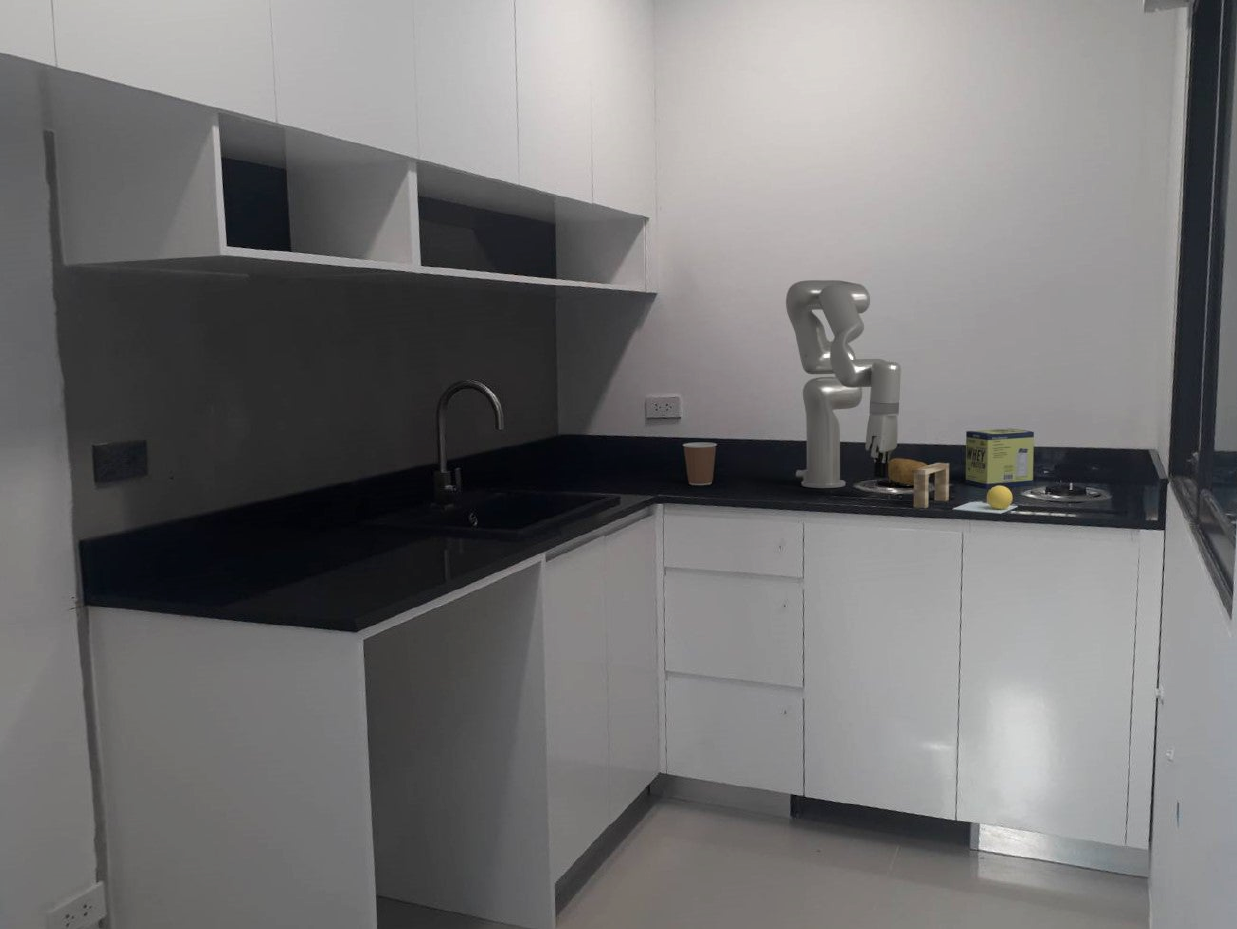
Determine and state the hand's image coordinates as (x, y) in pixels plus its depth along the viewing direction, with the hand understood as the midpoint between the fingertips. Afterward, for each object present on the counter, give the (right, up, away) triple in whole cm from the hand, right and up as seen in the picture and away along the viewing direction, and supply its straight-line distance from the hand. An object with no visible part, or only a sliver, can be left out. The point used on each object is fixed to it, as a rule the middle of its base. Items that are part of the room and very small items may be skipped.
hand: (881, 476), depth 279 cm
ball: (+24, -5, -21) cm, 32 cm away
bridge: (+11, -7, -9) cm, 16 cm away
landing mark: (+21, -8, -18) cm, 29 cm away
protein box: (+39, -3, +20) cm, 43 cm away
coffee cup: (-45, -3, +37) cm, 59 cm away
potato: (+13, -3, +20) cm, 24 cm away
